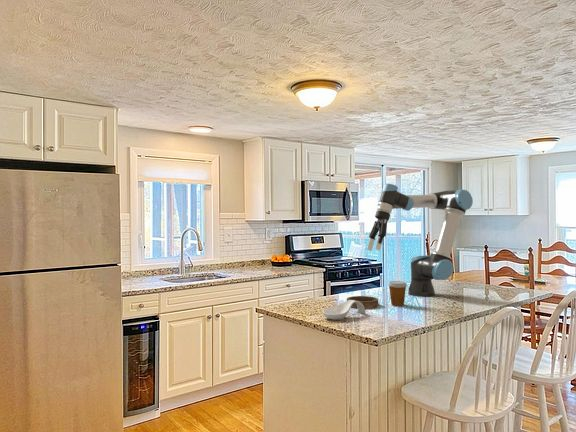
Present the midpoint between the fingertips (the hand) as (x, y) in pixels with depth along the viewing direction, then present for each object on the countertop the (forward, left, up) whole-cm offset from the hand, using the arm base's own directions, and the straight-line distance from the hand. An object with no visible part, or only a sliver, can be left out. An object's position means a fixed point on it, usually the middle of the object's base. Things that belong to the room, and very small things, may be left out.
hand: (373, 250), depth 232 cm
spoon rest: (+33, +6, -29) cm, 44 cm away
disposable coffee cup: (-7, +10, -29) cm, 32 cm away
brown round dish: (+6, -3, -29) cm, 30 cm away
